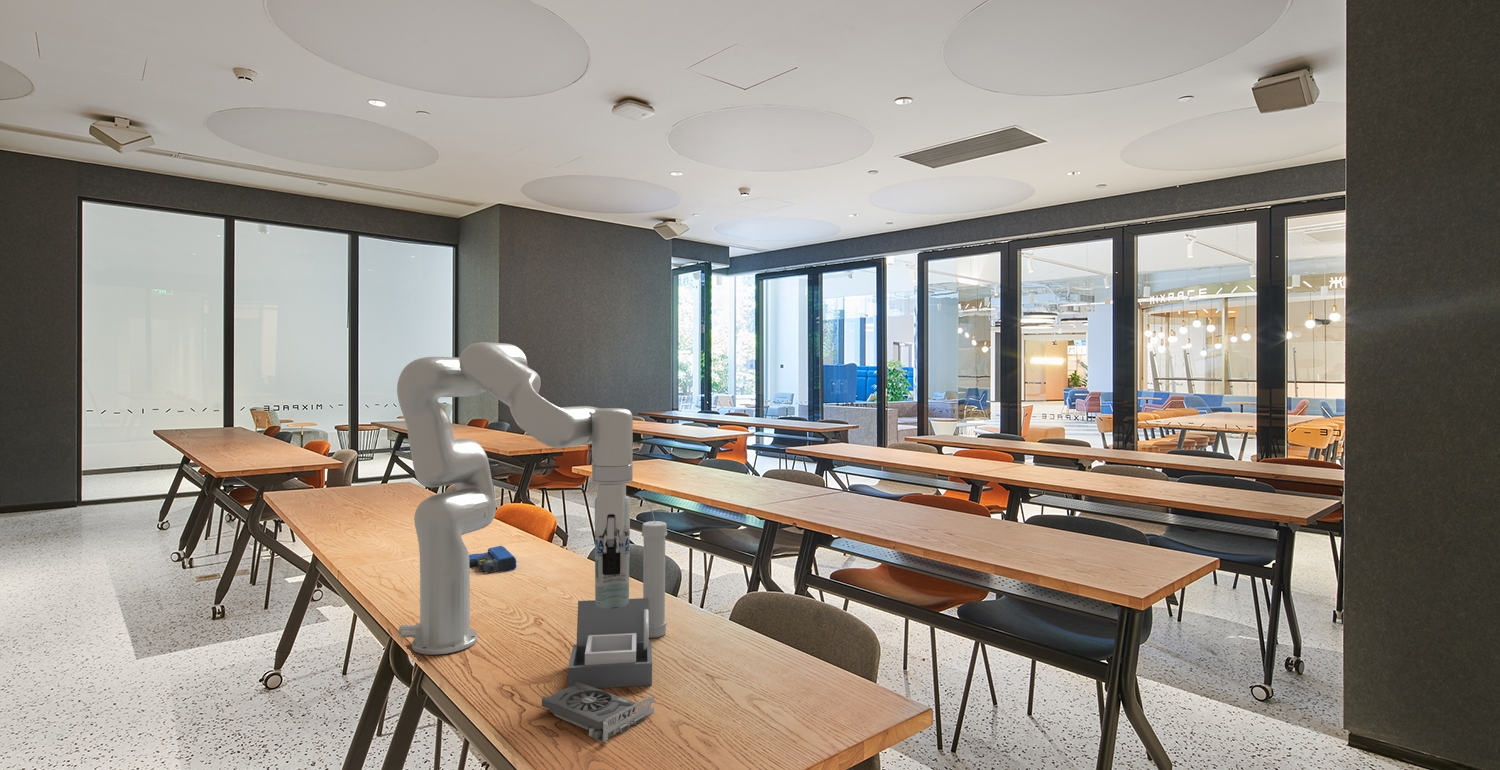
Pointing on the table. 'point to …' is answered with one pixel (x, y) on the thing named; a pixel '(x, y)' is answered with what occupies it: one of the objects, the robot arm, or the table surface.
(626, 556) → the spray paint can
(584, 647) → the case
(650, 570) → the pipe
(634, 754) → the table surface
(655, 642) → the table surface
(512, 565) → the stun gun
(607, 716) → the graphics card
